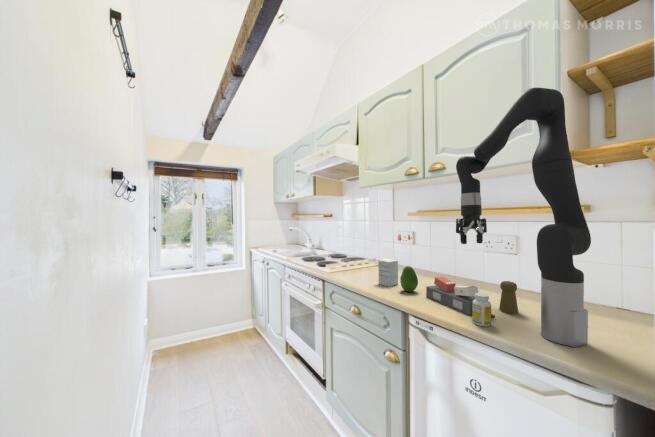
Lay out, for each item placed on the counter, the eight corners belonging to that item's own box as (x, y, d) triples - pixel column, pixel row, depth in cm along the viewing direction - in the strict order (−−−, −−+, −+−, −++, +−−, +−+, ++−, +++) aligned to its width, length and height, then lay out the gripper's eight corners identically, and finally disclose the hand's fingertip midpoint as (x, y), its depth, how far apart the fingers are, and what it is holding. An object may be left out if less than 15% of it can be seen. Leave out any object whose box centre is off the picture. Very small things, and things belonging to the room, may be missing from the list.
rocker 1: (454, 290, 109) (456, 283, 109) (445, 291, 108) (446, 284, 107) (442, 282, 116) (443, 276, 115) (433, 283, 114) (434, 277, 114)
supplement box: (386, 281, 144) (386, 258, 143) (398, 284, 138) (398, 260, 138) (378, 284, 139) (377, 259, 139) (389, 286, 133) (389, 261, 133)
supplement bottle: (473, 325, 87) (473, 295, 86) (471, 319, 91) (471, 291, 91) (492, 328, 84) (492, 297, 84) (489, 321, 89) (489, 293, 89)
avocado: (397, 291, 124) (397, 266, 124) (404, 288, 130) (404, 263, 130) (414, 295, 119) (414, 268, 119) (420, 291, 125) (420, 265, 125)
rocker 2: (479, 294, 98) (477, 286, 99) (469, 296, 97) (467, 287, 97) (464, 293, 105) (462, 285, 105) (454, 294, 103) (453, 286, 104)
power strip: (502, 318, 92) (502, 305, 92) (484, 322, 89) (484, 308, 89) (441, 295, 119) (441, 284, 119) (426, 296, 116) (426, 286, 116)
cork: (499, 312, 98) (499, 282, 97) (498, 307, 103) (498, 279, 103) (519, 315, 95) (520, 284, 95) (517, 309, 100) (517, 280, 100)
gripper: (465, 203, 104) (466, 245, 104) (491, 204, 109) (492, 243, 109) (450, 204, 111) (451, 243, 111) (476, 205, 116) (476, 242, 116)
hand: (471, 243), depth 110 cm, fingers open, 8 cm apart
